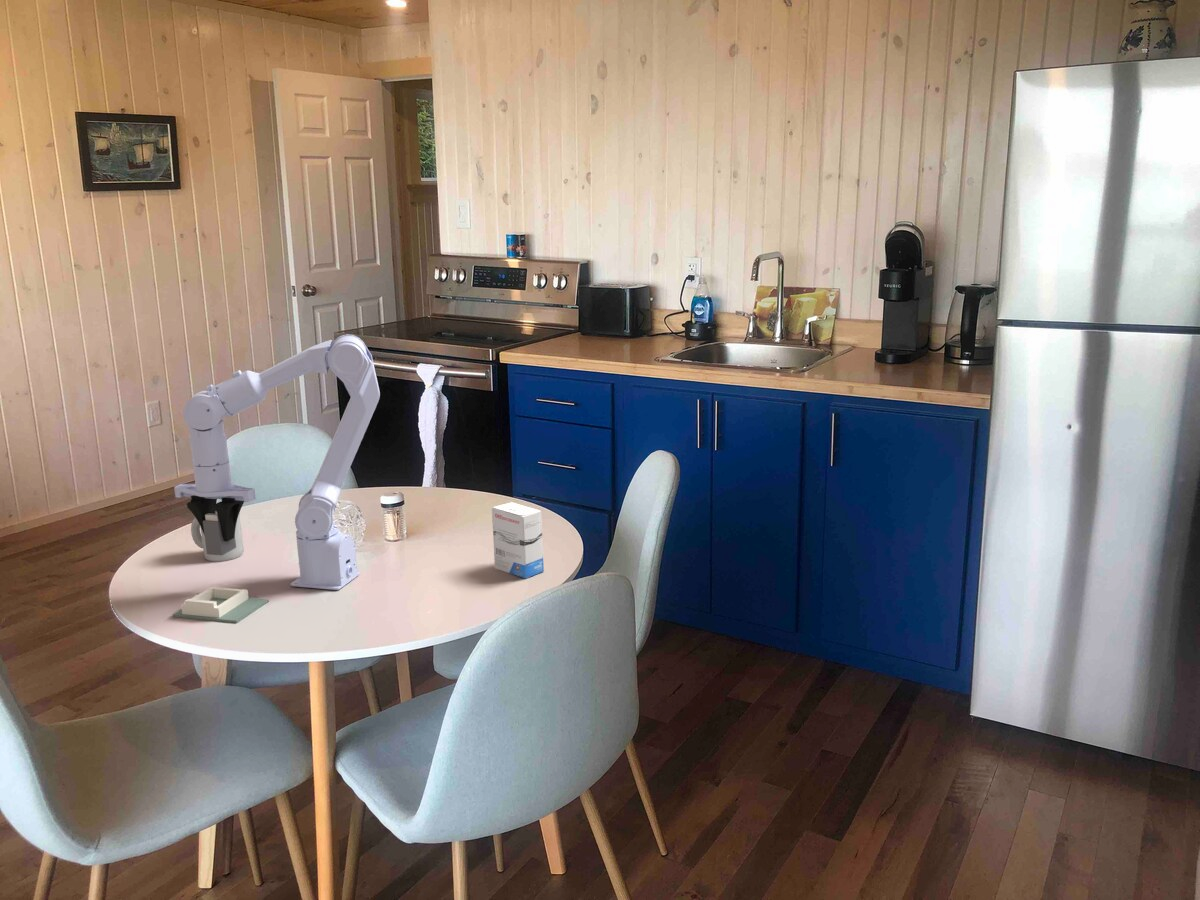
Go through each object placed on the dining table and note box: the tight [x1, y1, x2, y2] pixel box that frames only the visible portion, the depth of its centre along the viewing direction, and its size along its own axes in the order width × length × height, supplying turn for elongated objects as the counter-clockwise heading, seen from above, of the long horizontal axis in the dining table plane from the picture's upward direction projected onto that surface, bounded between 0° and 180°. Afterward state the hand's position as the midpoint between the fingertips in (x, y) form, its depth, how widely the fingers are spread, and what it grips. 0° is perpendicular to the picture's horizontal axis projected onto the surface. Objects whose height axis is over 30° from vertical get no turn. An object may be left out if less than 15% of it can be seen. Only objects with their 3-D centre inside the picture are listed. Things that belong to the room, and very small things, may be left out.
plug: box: [203, 513, 236, 555], centre depth 167 cm, size 3×4×7 cm
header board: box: [171, 586, 269, 624], centre depth 161 cm, size 12×9×3 cm
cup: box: [190, 511, 245, 563], centre depth 186 cm, size 7×10×9 cm
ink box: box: [491, 501, 545, 579], centre depth 175 cm, size 8×5×12 cm, turn 47°
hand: (220, 538), depth 167 cm, fingers closed on plug, 3 cm apart
